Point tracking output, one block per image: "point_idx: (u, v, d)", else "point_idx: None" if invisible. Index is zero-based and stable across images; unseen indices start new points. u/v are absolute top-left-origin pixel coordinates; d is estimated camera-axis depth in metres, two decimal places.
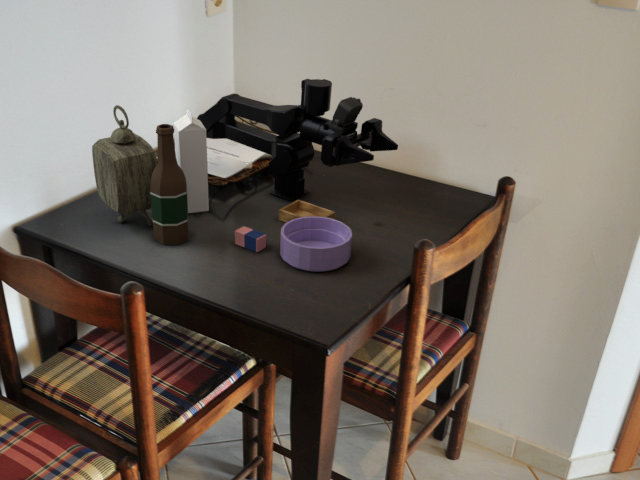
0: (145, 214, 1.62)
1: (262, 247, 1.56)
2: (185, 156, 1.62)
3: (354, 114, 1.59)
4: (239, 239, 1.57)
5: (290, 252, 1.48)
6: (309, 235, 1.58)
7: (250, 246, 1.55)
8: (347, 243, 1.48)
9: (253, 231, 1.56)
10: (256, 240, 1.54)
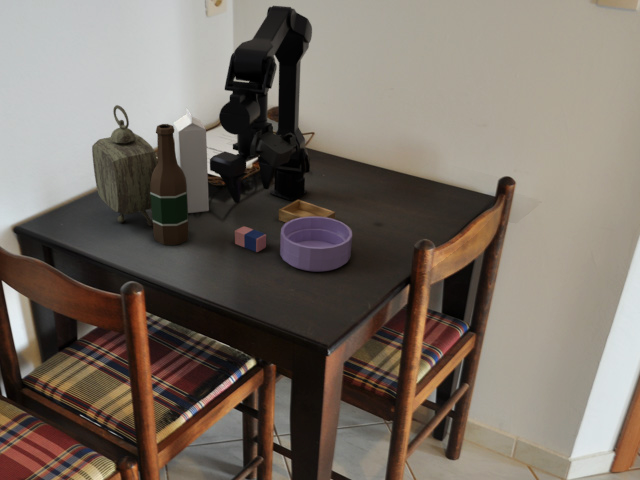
0: (145, 214, 1.62)
1: (262, 247, 1.56)
2: (185, 156, 1.62)
3: None
4: (239, 239, 1.57)
5: (290, 252, 1.48)
6: (309, 235, 1.58)
7: (250, 246, 1.55)
8: (347, 243, 1.48)
9: (253, 231, 1.56)
10: (256, 240, 1.54)
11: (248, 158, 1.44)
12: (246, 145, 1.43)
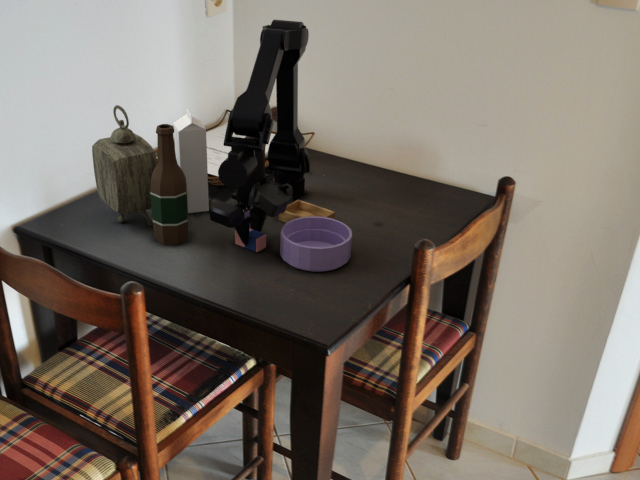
0: (145, 214, 1.62)
1: (262, 247, 1.56)
2: (185, 156, 1.62)
3: None
4: (239, 239, 1.57)
5: (290, 252, 1.48)
6: (309, 235, 1.58)
7: (250, 246, 1.55)
8: (347, 243, 1.48)
9: (253, 231, 1.56)
10: (256, 240, 1.54)
11: None
12: (244, 196, 1.48)
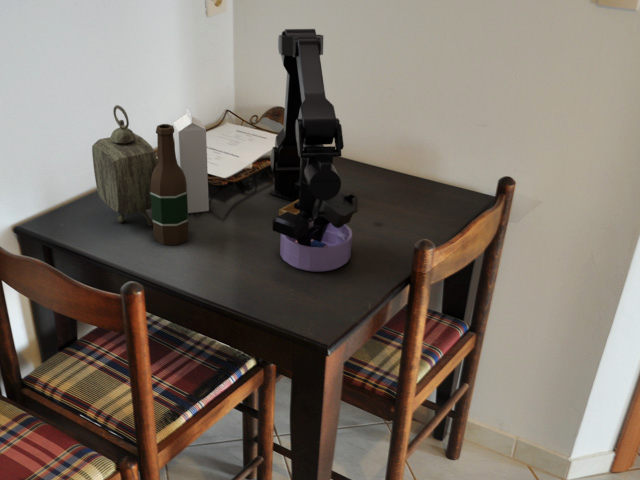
0: (145, 214, 1.62)
1: None
2: (185, 156, 1.62)
3: None
4: None
5: (290, 252, 1.48)
6: None
7: None
8: (347, 243, 1.48)
9: (314, 241, 1.52)
10: None
11: None
12: (308, 206, 1.44)
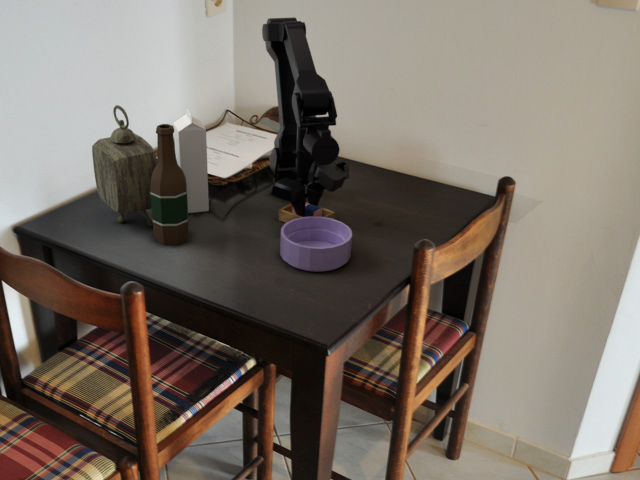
0: (145, 214, 1.62)
1: None
2: (185, 156, 1.62)
3: None
4: None
5: (290, 252, 1.48)
6: (309, 235, 1.58)
7: None
8: (347, 243, 1.48)
9: (310, 205, 1.66)
10: (313, 213, 1.63)
11: None
12: (304, 172, 1.58)
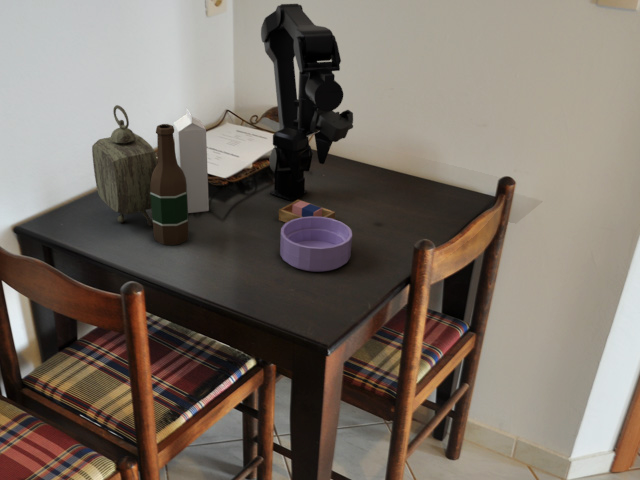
0: (145, 214, 1.62)
1: None
2: (185, 156, 1.62)
3: None
4: (296, 213, 1.66)
5: (290, 252, 1.48)
6: (309, 235, 1.58)
7: None
8: (347, 243, 1.48)
9: (310, 205, 1.66)
10: (313, 213, 1.63)
11: (308, 134, 1.53)
12: (306, 122, 1.52)
